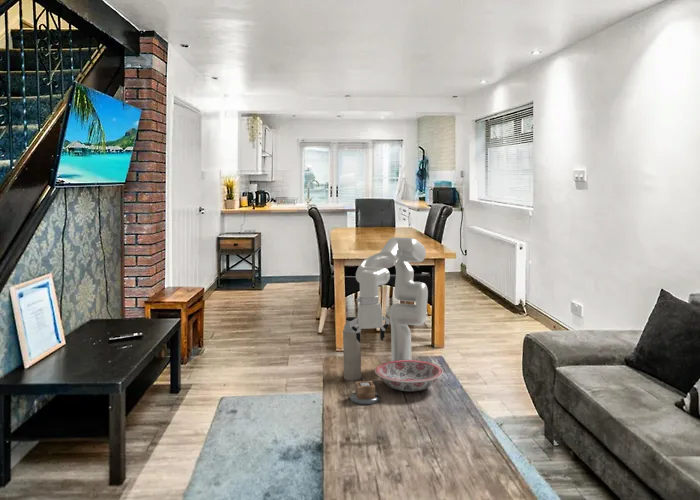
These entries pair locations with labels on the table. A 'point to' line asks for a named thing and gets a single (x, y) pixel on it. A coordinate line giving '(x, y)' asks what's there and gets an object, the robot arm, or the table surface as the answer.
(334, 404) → the table surface
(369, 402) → the post base
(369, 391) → the hollow wooden square
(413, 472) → the table surface
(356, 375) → the thermos bottle
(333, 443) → the table surface
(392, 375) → the ceramic bowl
